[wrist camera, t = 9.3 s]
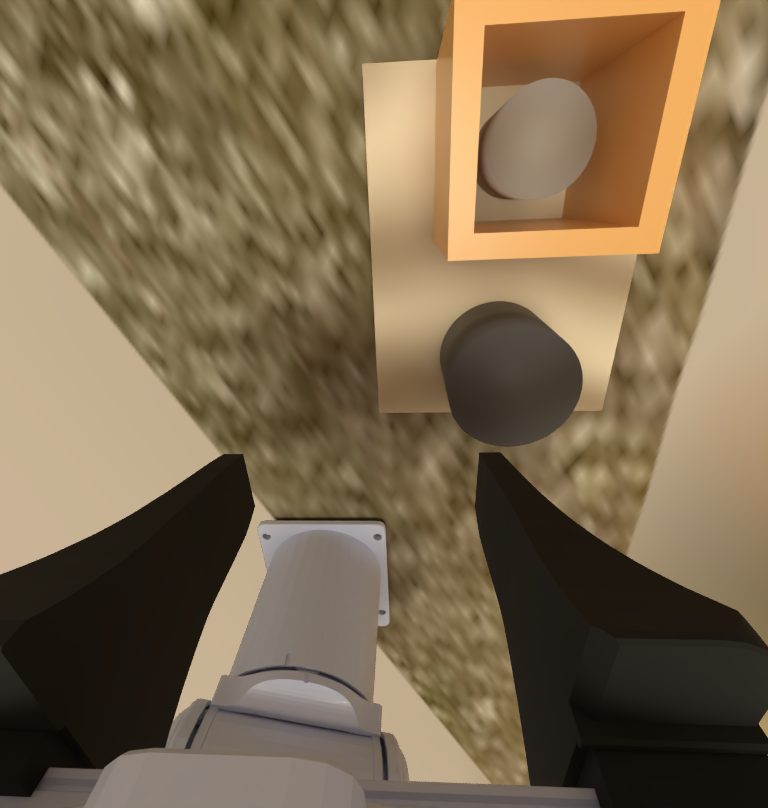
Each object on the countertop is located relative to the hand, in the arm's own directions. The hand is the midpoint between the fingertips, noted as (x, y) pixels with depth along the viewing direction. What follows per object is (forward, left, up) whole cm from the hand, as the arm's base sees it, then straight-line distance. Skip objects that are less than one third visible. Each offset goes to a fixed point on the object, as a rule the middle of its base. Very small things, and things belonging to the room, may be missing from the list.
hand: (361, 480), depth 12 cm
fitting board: (+5, -6, -9) cm, 12 cm away
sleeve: (+9, -6, -8) cm, 13 cm away
